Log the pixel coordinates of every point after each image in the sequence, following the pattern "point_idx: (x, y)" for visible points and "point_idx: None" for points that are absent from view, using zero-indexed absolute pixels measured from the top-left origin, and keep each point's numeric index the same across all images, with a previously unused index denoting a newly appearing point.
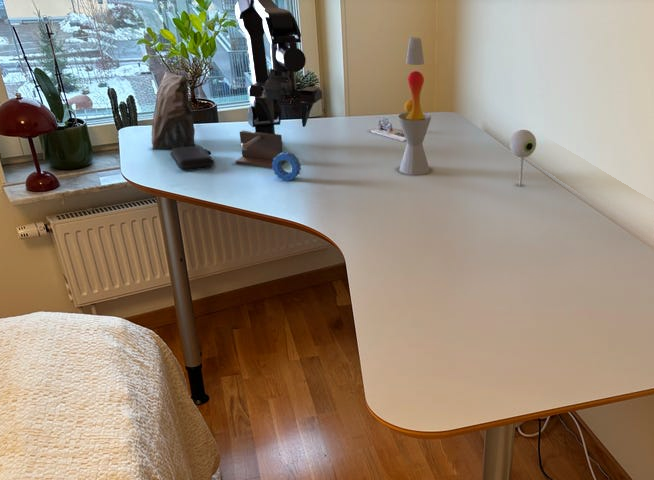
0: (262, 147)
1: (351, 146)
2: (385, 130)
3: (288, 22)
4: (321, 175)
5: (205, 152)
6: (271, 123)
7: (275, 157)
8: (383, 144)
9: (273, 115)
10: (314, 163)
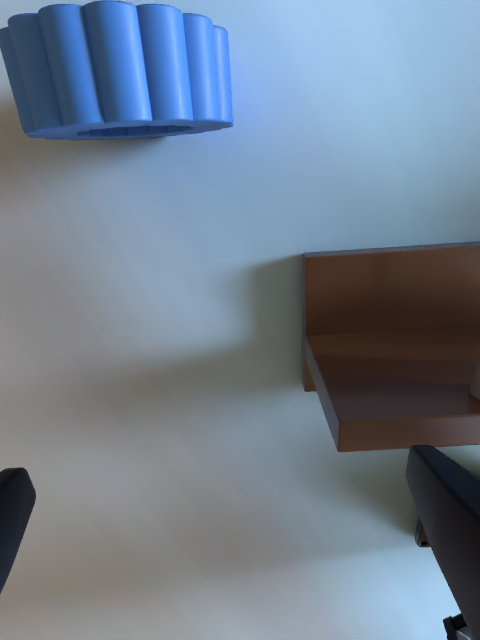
0: (438, 359)
1: (150, 586)
2: None
3: None
4: (28, 250)
5: None
6: (421, 445)
7: (197, 44)
8: (66, 627)
9: (447, 566)
10: (167, 392)
